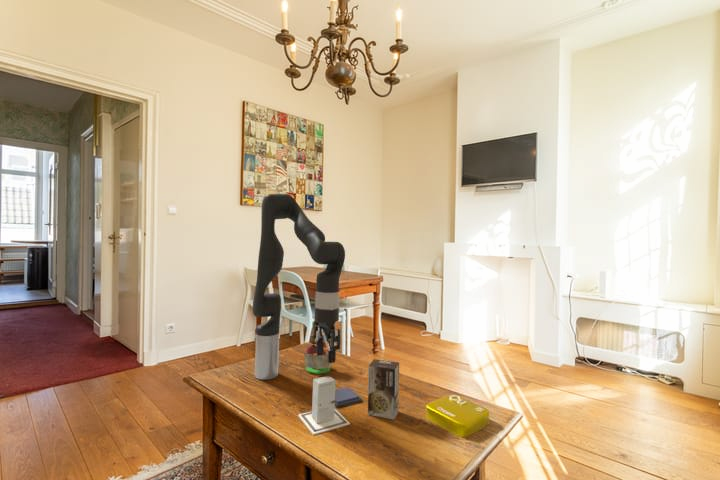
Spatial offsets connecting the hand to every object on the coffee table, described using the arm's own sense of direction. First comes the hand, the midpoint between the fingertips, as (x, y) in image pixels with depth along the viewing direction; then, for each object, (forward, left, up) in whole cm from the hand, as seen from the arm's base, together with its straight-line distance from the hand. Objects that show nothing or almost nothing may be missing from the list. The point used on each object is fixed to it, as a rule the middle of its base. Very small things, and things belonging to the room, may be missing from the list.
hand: (325, 357), depth 106 cm
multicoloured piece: (-39, +15, -20) cm, 46 cm away
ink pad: (-10, +12, -19) cm, 25 cm away
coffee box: (+5, +19, -20) cm, 28 cm away
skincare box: (0, 0, -19) cm, 19 cm away
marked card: (0, 0, -19) cm, 19 cm away
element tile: (+20, +37, -20) cm, 47 cm away
